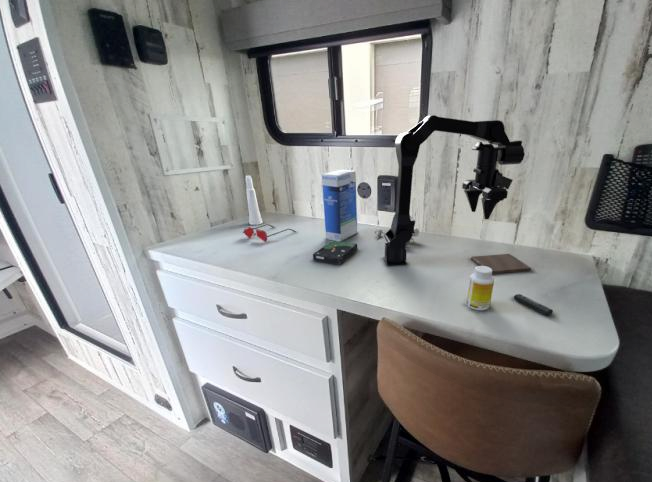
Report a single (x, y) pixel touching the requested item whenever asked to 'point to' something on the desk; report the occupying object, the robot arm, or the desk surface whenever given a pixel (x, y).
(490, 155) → the robot arm
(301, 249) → the desk surface
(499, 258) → the walnut board
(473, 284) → the supplement bottle
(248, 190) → the cosmetic bottle
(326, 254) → the disk drive
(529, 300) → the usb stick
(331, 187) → the string lights box
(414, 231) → the clip-on lamp
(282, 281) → the desk surface
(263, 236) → the glasses
